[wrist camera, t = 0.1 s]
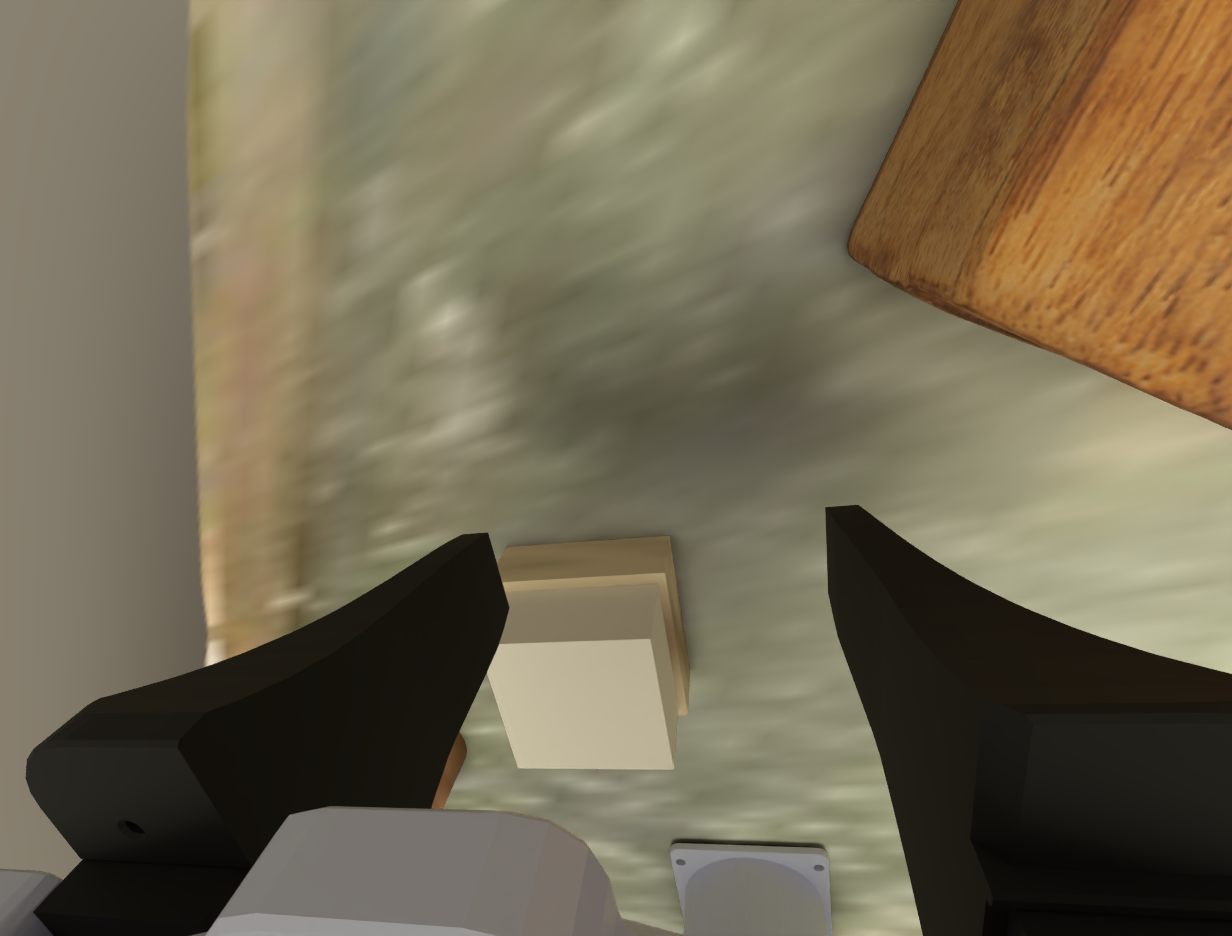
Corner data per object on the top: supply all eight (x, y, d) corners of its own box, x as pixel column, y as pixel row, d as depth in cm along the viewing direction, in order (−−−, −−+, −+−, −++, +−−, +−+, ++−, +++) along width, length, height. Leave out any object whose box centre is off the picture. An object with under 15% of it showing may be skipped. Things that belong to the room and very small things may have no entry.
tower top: (678, 705, 24) (674, 769, 21) (538, 707, 25) (518, 768, 23) (658, 583, 22) (650, 638, 19) (505, 591, 23) (478, 644, 20)
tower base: (690, 663, 27) (688, 715, 24) (544, 667, 28) (526, 716, 26) (670, 530, 24) (664, 572, 22) (509, 542, 26) (486, 583, 23)
